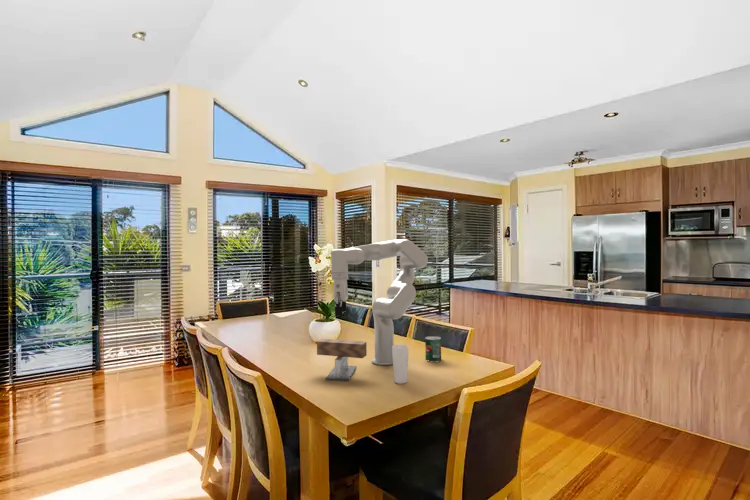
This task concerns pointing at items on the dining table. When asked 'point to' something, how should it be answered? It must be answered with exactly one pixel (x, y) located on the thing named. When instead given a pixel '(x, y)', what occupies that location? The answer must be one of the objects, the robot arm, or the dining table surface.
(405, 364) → the drinking glass
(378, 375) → the dining table surface
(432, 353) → the canned tomato
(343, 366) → the ridge stand
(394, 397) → the dining table surface
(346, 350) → the brown wooden block
